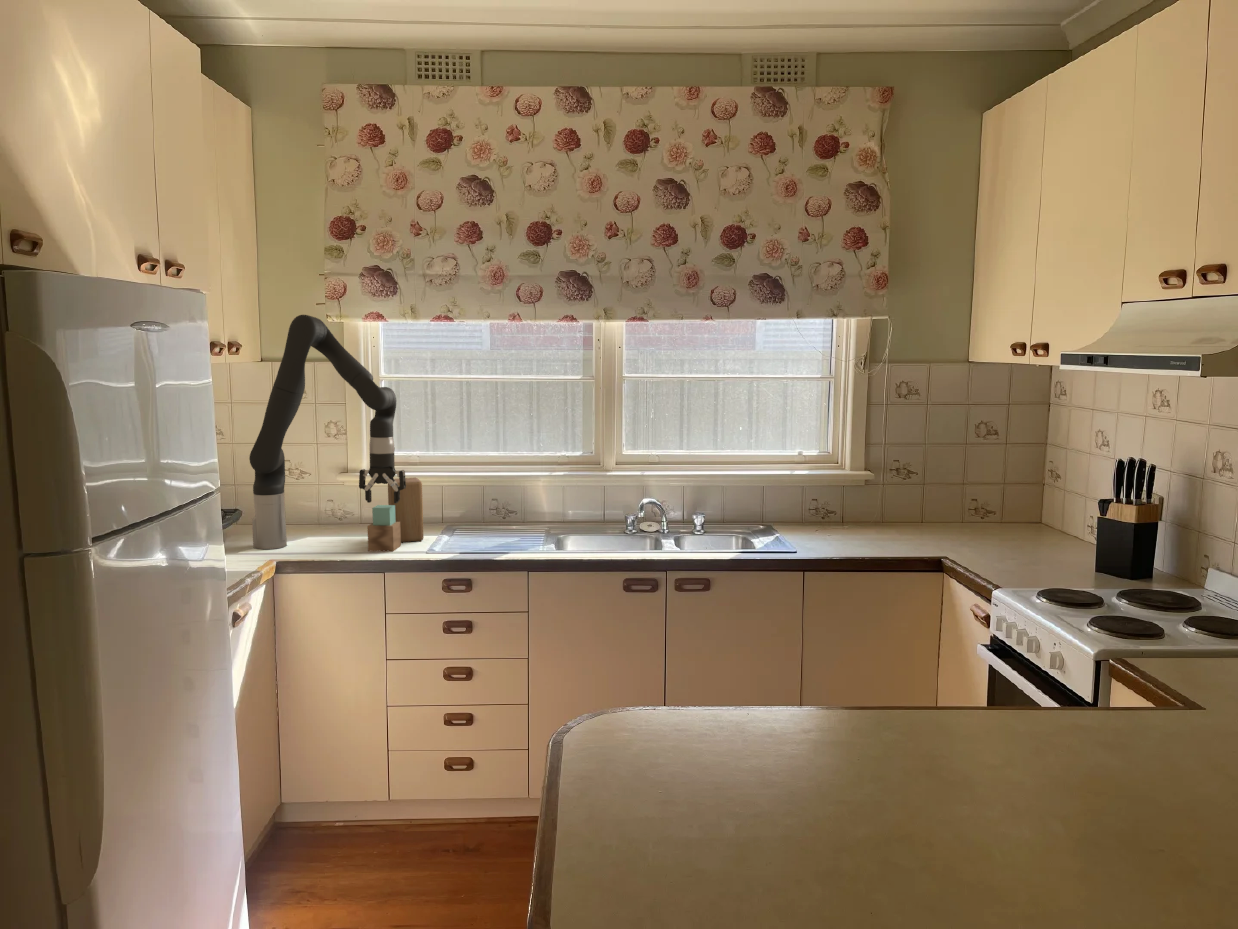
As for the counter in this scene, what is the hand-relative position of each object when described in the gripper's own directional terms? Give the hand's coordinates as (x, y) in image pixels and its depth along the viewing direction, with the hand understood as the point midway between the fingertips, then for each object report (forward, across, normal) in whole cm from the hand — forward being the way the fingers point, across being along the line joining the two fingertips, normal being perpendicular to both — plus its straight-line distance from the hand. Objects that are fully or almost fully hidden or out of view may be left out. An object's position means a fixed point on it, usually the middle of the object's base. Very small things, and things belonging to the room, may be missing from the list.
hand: (382, 502), depth 290 cm
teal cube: (+7, 0, 0) cm, 7 cm away
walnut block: (+15, 0, 0) cm, 15 cm away
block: (+15, +3, +14) cm, 21 cm away
